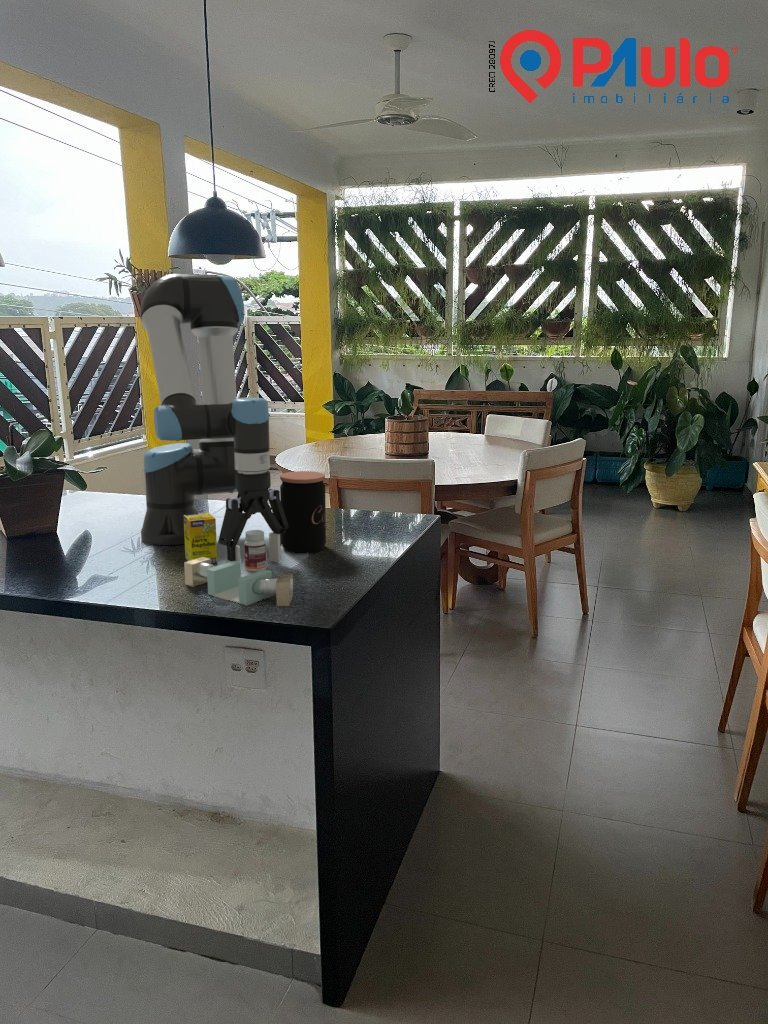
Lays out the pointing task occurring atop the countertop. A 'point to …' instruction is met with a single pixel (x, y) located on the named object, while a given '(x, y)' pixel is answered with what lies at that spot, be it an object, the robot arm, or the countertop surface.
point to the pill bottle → (255, 551)
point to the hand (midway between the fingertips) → (255, 567)
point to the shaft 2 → (276, 588)
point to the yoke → (235, 583)
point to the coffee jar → (303, 511)
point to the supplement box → (200, 537)
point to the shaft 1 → (197, 571)
